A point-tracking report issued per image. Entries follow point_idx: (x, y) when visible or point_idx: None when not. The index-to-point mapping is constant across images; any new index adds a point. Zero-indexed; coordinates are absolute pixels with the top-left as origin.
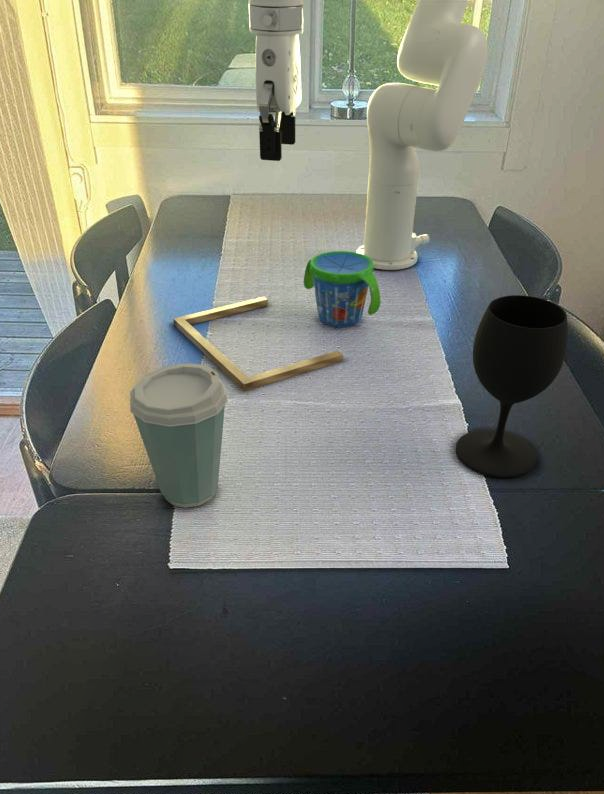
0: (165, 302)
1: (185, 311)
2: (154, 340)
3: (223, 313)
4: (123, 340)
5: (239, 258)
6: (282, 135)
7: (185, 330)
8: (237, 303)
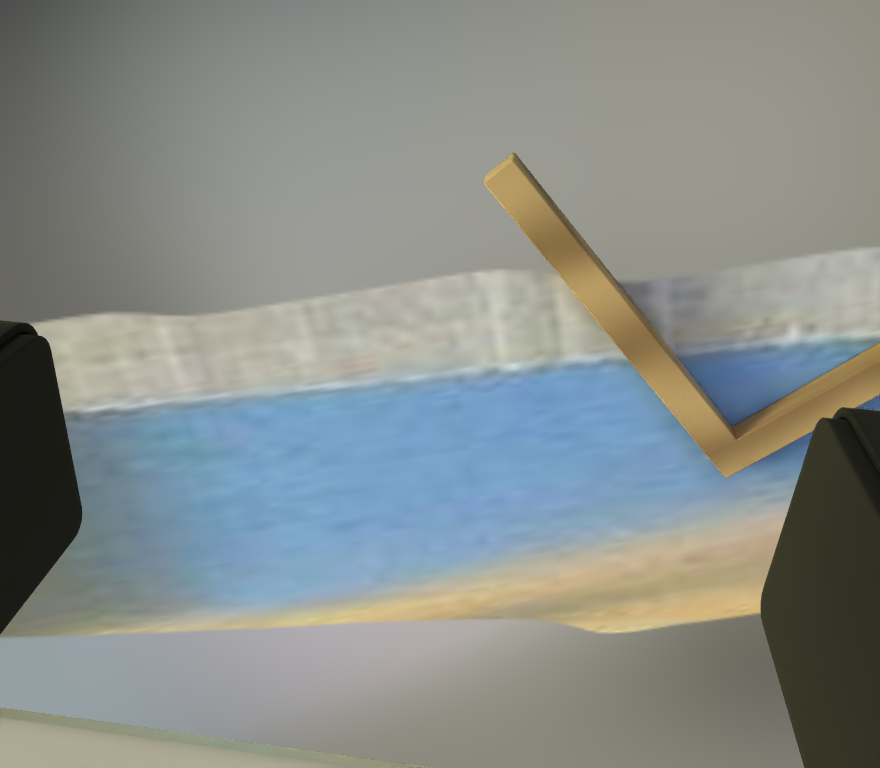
0: (536, 518)
1: (603, 447)
2: None
3: (643, 317)
4: None
5: (72, 344)
6: (19, 512)
7: None
8: (572, 279)
